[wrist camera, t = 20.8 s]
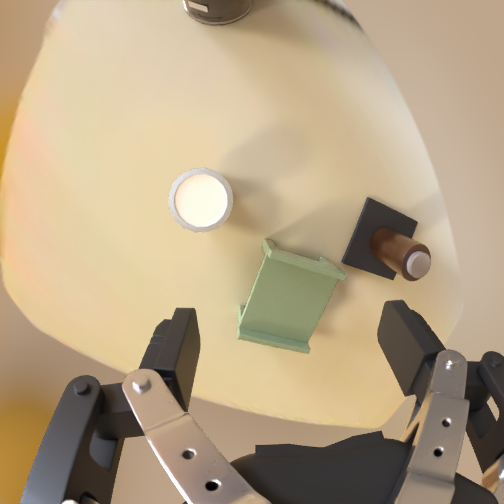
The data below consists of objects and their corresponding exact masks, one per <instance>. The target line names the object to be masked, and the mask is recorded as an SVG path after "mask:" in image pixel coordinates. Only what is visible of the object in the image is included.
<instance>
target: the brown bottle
mask: <svg viewBox="0 0 504 504" xmlns="http://www.w3.org/2000/svg"><path fill="white" fill-rule="evenodd" d="M369 249H370V252H371V254H372V255H373V256H374V257H376V258H377V259H379V260H380V261H381V262H383V263H384V264H386V265H387V266H388V267H390V268H391V269H393V270H394V271H395V272H397V273H398V274H399V275H401V276H402V277H403V278H405V279H406V280H408V281H416V280H418V279H420V278H422V277H423V276H425V275H426V274H427V272H428V271H429V268H430V265H431V256H430V252H429V250H428V248H427V247H426V246H425V245H423V244H421V243H419V242H417V241H415V240H413V239H411V238H409V237H407V236H405V235H403V234H401V233H399V232H397V231H395V230H392V229H390V228H388V227H381V228H378V229H377V230H376V231H375V232H374V233H373V234H372V236H371V238H370V241H369Z"/></svg>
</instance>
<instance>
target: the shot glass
mask: <svg viewBox="0 0 504 504" xmlns="http://www.w3.org/2000/svg"><path fill="white" fill-rule="evenodd" d="M168 197H169V209H170V211H171V213H172V215H173V218H174V220H175V221H177V222H178V223H179V224H180V225H181V226H182V227H183V228H185V229H188V230H190V231H193V232H209V231H211V230H214V229H216V228H218V227H220V226H221V225H222V224H223V223H224V222H225V221H226V220H227V219H228V218H229V215H230V213H231V210H232V208H233V192H232V190H231V187H230V185H229V183H228V181H227V180H226V179H225V178H224V177H223V176H222V175H221V174H220V173H218V172H216V171H213V170H210V169H208V168H193V169H191V170H189V171H187V172H185V173H182V174H181V175H180V176H179V177H178V178H177V179H176V181H175V182H174V183H173V184H172V187H171V190H170V193H169V195H168Z"/></svg>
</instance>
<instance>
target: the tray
mask: <svg viewBox="0 0 504 504" xmlns="http://www.w3.org/2000/svg"><path fill="white" fill-rule="evenodd" d="M262 248H263V250H264V253H265V256H264V259H263V262H262V264H261V267H260V270H259V272H258V275H257V278H256V280H255V283H254V285H253V288H252V291H251V293H250V296H249V299H248V301H247V304H246V306H245V307H243V306H240V307H239V309H238V312H237V313H238V324H239V325H238V327H237V335H238V339H241V340H245V341H250V342H254V343H258V344H263V345H268V346H272V347H277V348H282V349H287V350H292V351H297V352H302V353H309V351H310V347H309V345H308V341H309V339H310V337H311V335H312V333H313V331H314V329H315V327H316V325H317V323H318V321H319V319H320V317H321V315H322V313H323V311H324V309H325V307H326V305H327V303H328V301H329V298H330V296H331V294H332V292H333V290H334V288H335V286H336V283H337V281H338V279H339V280H343V281H345V279H346V277H347V275H346V274H345V273H344V272H343V271H342V270H341V269H340V268H337V267H335V266H334V265H333V264H332V263H331V262H330V261H329V260H328V259H327V258H324V257H320V259H319V262H318V261H315V260H312V259H309V258H306V257H303V256H300V255H297V254H293V253H290V252H287V251H284V250H281V249H278V248H277V247H276V245H275V244H274V242H273V241H272V240H268V239H264V242H263V245H262Z"/></svg>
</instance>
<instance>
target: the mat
mask: <svg viewBox="0 0 504 504" xmlns="http://www.w3.org/2000/svg"><path fill="white" fill-rule="evenodd" d="M417 223H418V222H417V221H415V220H413V219H411V218H409V217H407V216H405V215H403V214H401V213H399V212H397V211H395V210H393V209H391V208H389V207H387V206H385V205H383V204H381V203H379V202H377V201H375V200H373V199H371V198H368V197H367V200H366V202H365V205H364V208H363V210H362V213H361V215H360V218H359V221H358V223H357V226H356V228H355V231H354V233H353V236H352V238H351V240H350V243H349V245H348V248H347V250H346V252H345V255H344V257H343V259H342V263H344V264H347V265H350V266H353V267H356V268H359V269H362V270H365V271H368V272H371V273H374V274H376V275H379V276H382V277H385V278H388V279H391V280H394V277H395V275H396V273H397V272H395V271H394V270H393V269H391V268H390V267H388V266H387V265H386V264H384V263H383V262H381V261H380V260H379V259H377V258H376V257H374V256H373V255H372V254H371V252H370V249H369V241H370V238H371V236H372V234H373V233H374V232H375V231H376V230H377V229H378V228H381V227H388V228H390V229H392V230H395V231H397V232H399V233H401V234H403V235H405V236H407V237H409V238H412V236H413V233H414V231H415V228H416V226H417Z"/></svg>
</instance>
